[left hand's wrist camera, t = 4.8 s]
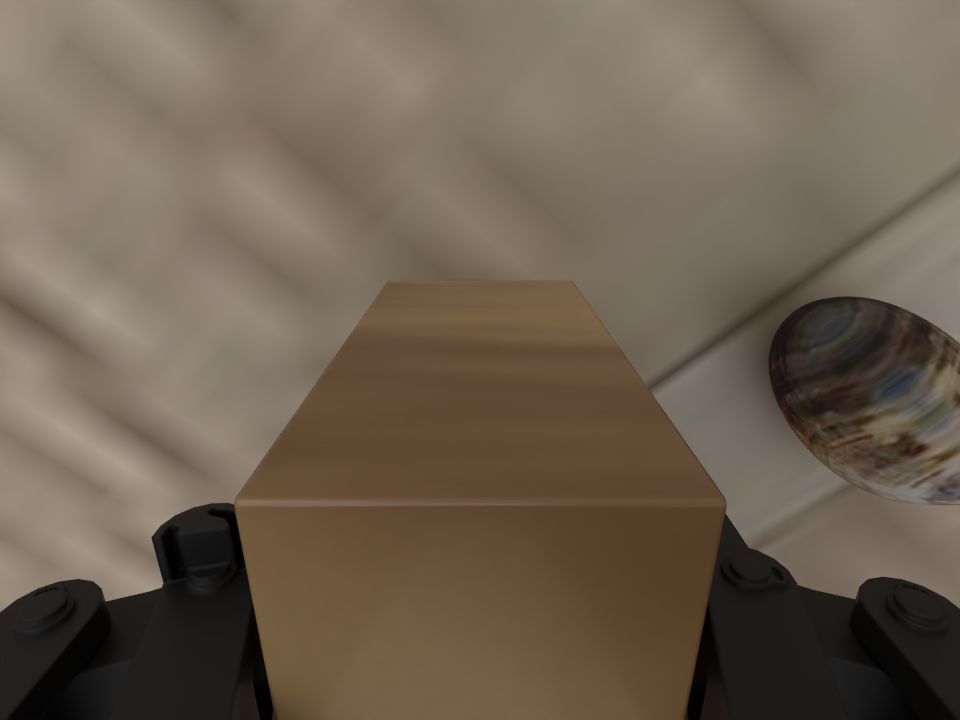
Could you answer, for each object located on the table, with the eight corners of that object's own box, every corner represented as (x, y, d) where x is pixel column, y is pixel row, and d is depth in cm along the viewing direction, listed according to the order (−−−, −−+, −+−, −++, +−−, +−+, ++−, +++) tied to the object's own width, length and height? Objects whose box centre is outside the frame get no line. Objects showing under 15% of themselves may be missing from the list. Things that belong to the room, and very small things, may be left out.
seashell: (933, 391, 24) (1148, 502, 16) (820, 473, 25) (969, 610, 18) (812, 234, 21) (1000, 280, 14) (694, 334, 22) (806, 425, 15)
